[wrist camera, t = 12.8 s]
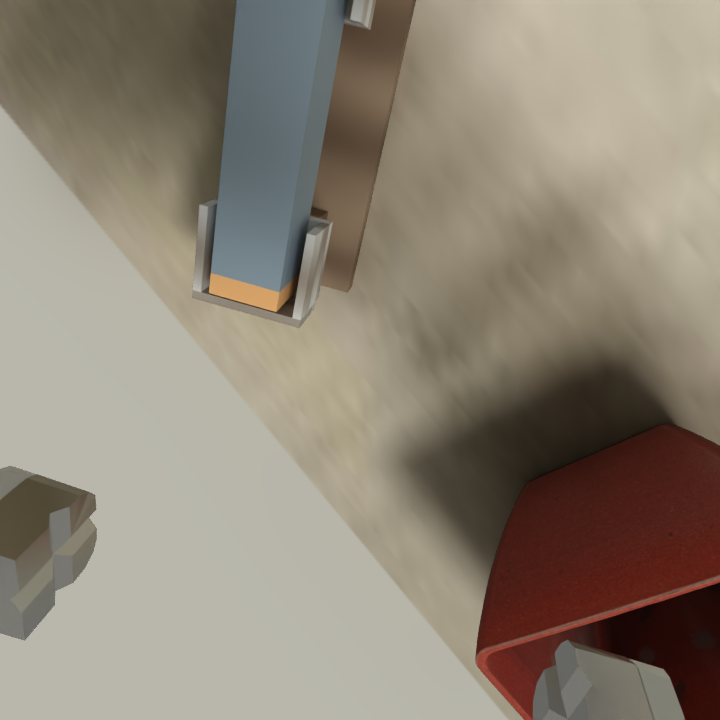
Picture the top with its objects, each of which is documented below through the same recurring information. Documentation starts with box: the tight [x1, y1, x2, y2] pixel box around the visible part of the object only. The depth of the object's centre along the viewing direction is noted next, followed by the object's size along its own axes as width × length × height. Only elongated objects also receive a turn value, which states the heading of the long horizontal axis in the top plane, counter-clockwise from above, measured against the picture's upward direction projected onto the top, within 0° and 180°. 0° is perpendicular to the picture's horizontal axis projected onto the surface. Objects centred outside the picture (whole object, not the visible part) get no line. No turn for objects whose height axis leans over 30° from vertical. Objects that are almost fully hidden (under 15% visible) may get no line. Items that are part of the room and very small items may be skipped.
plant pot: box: [475, 424, 720, 720], centre depth 36 cm, size 19×19×17 cm
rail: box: [209, 0, 348, 312], centre depth 27 cm, size 20×4×4 cm, turn 167°
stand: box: [192, 0, 416, 328], centre depth 30 cm, size 22×9×10 cm, turn 167°
